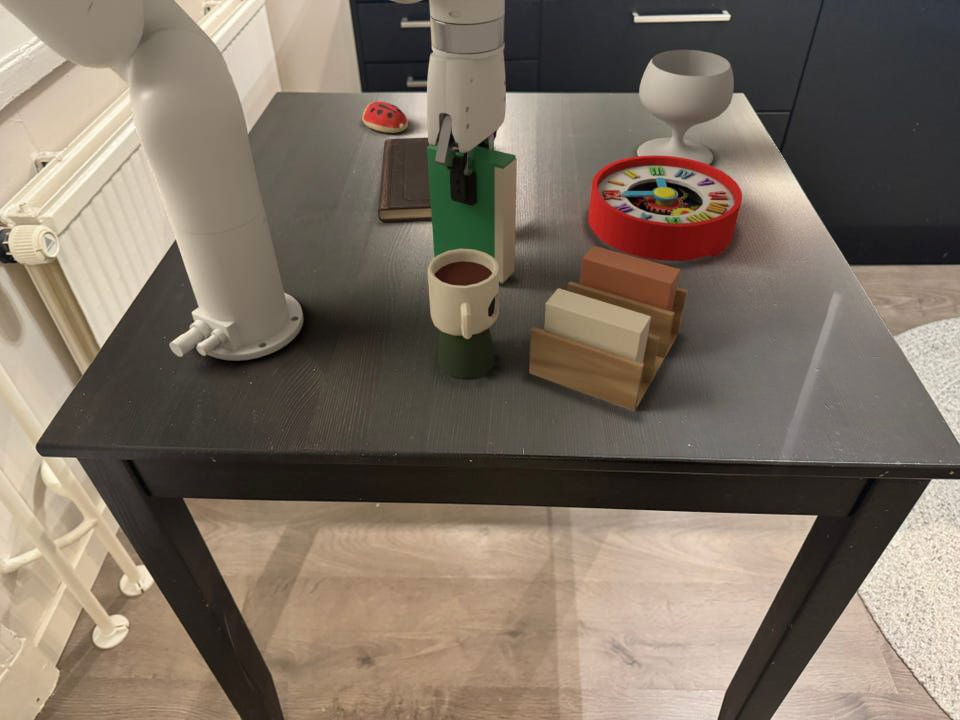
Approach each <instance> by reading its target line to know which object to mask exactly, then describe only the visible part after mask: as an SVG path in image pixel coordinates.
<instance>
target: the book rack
mask: <svg viewBox="0 0 960 720" xmlns="http://www.w3.org/2000/svg"><path fill="white" fill-rule="evenodd" d="M566 291H569V292H573V293H576V294H579V295H582V296H586V297H589V298H592V299H596V300H599V301H602V302H605V303H609V304H612V305H615V306H619V307H622V308H625V309H628V310H632V311H635V312H638V313H642V314H645V315H648V316H651V321H650V326H649V332H648V338H647V343H646V349H645V354H644V360H643V363H641V362H638V361H635V360H632V359H629V358H626V357H623V356H620V355H617V354H614V353H611V352H608V351H605V350H602V349H599V348H596V347H593V346H590V345H587V344H584V343H581V342H578V341H575V340H572V339H569V338H566V337H563V336H560V335H557V334H554V333H551V332H548V331H545V330H544V329H541V328H538V327H535V326H532V327H531V328H530V344H529V364H528V365H529V367H528V371H529V372H528V374H529V375H532V376H535V377H537V378H541V379H544V380H546V381H549V382H552V383H554V384H557V385H560V386H563V387H566V388H569V389H571V390H573V391H577V392H580V393H582V394H585V395H588V396H591V397H593V398H597V399H599V400H602V401H605V402H608V403H610V404H613V405H616V406H619V407H621V408H625V409H627V410H630V411H632V412H635V411H636V410H637V409H638V406H639V404H640V403H641V401H642V400H643V397H644V396H645V394H646V392H647V391H648V388H649V387H650V385H651V383H652V382H653V380H654V378H655V376H656V374H657V373H658V371H659V369H660V367H661V365H662V364H663V362H664V360H665V358H666V356H667V355H668V353H669V351H670V350H671V348H672V346H673V345H674V343H675V341H676V339H677V337H678V335H679V333H680V329H681V324H682V320H683V316H684V311H685V306H686V301H687V297H688V293H689V292H688V291H689V289H687V288H683V287H679V286H677V290H676V295H675V300H674V305H673V310H672V312H671V311H668V310H665V309H661V308H658V307H654V306H651V305H648V304H644V303H641V302H638V301H634V300H631V299H628V298H624V297H621V296H618V295H614V294H611V293H608V292H604V291H601V290H597V289H594V288H591V287H587V286H584V285H581V284H580V283H577V282H573V281H569V282H568V283H567V290H566Z"/></svg>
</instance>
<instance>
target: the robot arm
mask: <svg viewBox="0 0 960 720" xmlns="http://www.w3.org/2000/svg"><path fill="white" fill-rule="evenodd" d="M389 1H391V2H394V3H397V4H403V5H405V4H406V5H407V4H416V3H419V2H422V1H423V0H389ZM428 2H429V3H428V4H429V20H430V22H429V23H430V39H431V40H430V41H431V50H432V52H431V53H430V56H429V62H428V69H427V70H428V71H427V83H426V84H427V85H426V131H427V132H426V133H427V138H428V142H429V144H430V145H431V146H437V145H438V147H437V152H436V157H435V163H436V164H440V165H444V166H446V168H447V171H450V193H451V199H452V200H453V201H456V202H460V203H463V204H467V205H471V206H473V205H475V204H476V202H477V200H476V173H474V172H472V170H473V148H474V147H475V146H478V147H483V148H487V149H491V150H495V141H496V138H497V134H498V130H499V128H501V127H502V125H503V123H504V122H505V119H506V109H507V107H506V106H507V88H506V87H507V86H506V82H507V81H506V66H505V55H504V50H505V34H506V33H505V29H506V28H505V26H506V25H505V23H506V22H505V17H506V15H505V14H506V13H505V7H506V0H428ZM0 6H2V7H3V8H4V9H5V10H6V11H8V12H9V13H10V14H11V15H12V16H14V17H15V19H17V20H18V21H20V23H22V24H23V25H24V26H25V27H26V28H27V29H28V30H29V31H30V32H31V33H32V34H33V35H35V36H36V37H37V39H39V40H40V41H41V42H42V43H43V44H45V45H46V46H47V47H48V48H49V49H51V50H52V51H53V53H55V54H56V55H58V56H60V57H61V58H63V59H65V60H66V61H68V62H70V63H73V64H75V65H78V66H81V67H83V68H88V69H96V70H101V69H109V70H111V71H112V72H113V73H114V74H115V75H116V76H118V77H119V78H120V79H121V80H122V81H123V82H124V83H125V84H126V85H128V89H129V101H130V102H129V103H130V110H131V115H132V121H133V124H134V128H135V131H136V132H135V133H136V136H137V138H138V141H139V143H140V146H141V149H142V151H143V153H144V157H145V159H146V161H147V163H148V166H149V168H150V171H151V173H152V176H153V179H154V181H155V183H156V186H157V189H158V192H159V195H160V198H161V201H162V204H163V207H164V210H165V212H166V216H167V218H168V222H169V223H170V226H171V229H172V232H173V235H174V238H175V241H176V244H177V246H178V247H177V248H178V250H179V252H180V253H179V254H180V255H181V258H182V261H183V264H184V268H185V271H186V273H187V277H188V279H189V282H190V286H191V288H192V291H193V294H194V297H195V300H196V304H197V306H198V307H197V308H195V309H194V310H193V311H191V316H192V318H193V321H194V322H192V323H191V324H190V325H189V330H187V331H186V332H184V333H182V334H180V335H179V336H178V337H176V338H175V339H173V340H172V341H170V342H169V348H170V350H171V351H172V353H173V354H174V355H175V356H177V357H179V358H182V357H184V356H185V355H186V354H188V353H189V352H190V351H192V350H193V349H194V348H196V351H197V352H198V353H199V354H200V355H201V356H203V357H206V356H210V357H212V358H215V359H219V360H224V361H234V362H235V361H249V360H253V359H259V358H262V357H264V356H268V355H270V354H273V353H276V352H278V351H279V350H281V349H283V348H284V347H286V346H287V345H288V344H289V343H291V342H292V341H293V340H294V339H295V338H296V337H297V336H298V334H299V333H300V332H301V330H302V328H303V325H304V320H305V319H304V313H303V309H302V306H301V304H300V302H299V301H298V300H297V299H296V298H295V297H293V296H292V295H290V294H288V293H286V292H285V290H284V286H283V282H282V277H281V273H280V270H279V265H278V260H277V256H276V252H275V249H274V248H275V247H274V243H273V240H272V234H271V230H270V226H269V223H268V222H269V221H268V219H267V214H266V210H265V206H264V201H263V197H262V194H261V190H260V185H259V180H258V177H257V173H256V167H255V164H254V159H253V153H252V149H251V144H250V143H251V142H250V137H249V132H248V126H247V121H246V117H245V112H244V109H243V105H242V102H241V99H240V96H239V93H238V90H237V87H236V84H235V82H234V79H233V76H232V74H231V72H230V69H229V67H228V64H227V62H226V60H225V57H224V56H223V54H222V52H221V50H220V49H219V47H218V46H217V44H216V43H215V42H214V41H213V40H212V39H211V37H210V36H209V35H208V34H207V33H206V32H205V30H204V29H202V27H201V26H200V25H199V24H198V23H197V22H196V21H195V20H194V19H193V18H192V17H191V16H190V15H189V14H188V13H187V12H186V11H185V10H184V9H183V8H182V7H181V6H180V4H178V2H177V1H176V0H0ZM456 152H459V153H463V154H464V161H463V160H462V159H461V158H460V157H457V156H456Z"/></svg>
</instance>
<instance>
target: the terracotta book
mask: <svg viewBox="0 0 960 720" xmlns="http://www.w3.org/2000/svg"><path fill="white" fill-rule="evenodd" d="M680 275H681V268H677V267H674V266H670V265H666V264H662V263H659V262H655V261H651V260H649V259H645V258H642V257H638V256H634V255H631V254H627V253H623V252H619V251H615V250H611V249H607V248H604V247H600V246H596V245H592V246H591V247H590V248H589V250H588V251H587V252H586V254H584V256H583V257H582V259H581V269H580V280H579V284H581V285H584V286H587V287H591V288H594V289H597V290H601V291H604V292H608V293H611V294H614V295H618V296H621V297H624V298H628V299H631V300H634V301H638V302H641V303H644V304H648V305H651V306H654V307H658V308H661V309H665V310H668V311H671V312H672V310H673V305H674V300H675V295H676V290H677V287H678V284H679V279H680Z"/></svg>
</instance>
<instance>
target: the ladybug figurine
mask: <svg viewBox="0 0 960 720" xmlns="http://www.w3.org/2000/svg"><path fill="white" fill-rule="evenodd" d="M361 119H362V122H363V124H364V125H365V126H366V127H367V128H369V129H371V130H373V131H375V132H381V133H386V134H396V133H401V132H403V131H404V130H407V128H408V126H409V121H408V118H407V116H406V115H405V113H404V112H403V110H402V109H400V107H398V106H397V105H394V104H391V102H385V101H372V102H370V103H369V104H368V105H366V107H365V108H364V110H363V113H362V117H361Z"/></svg>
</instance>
